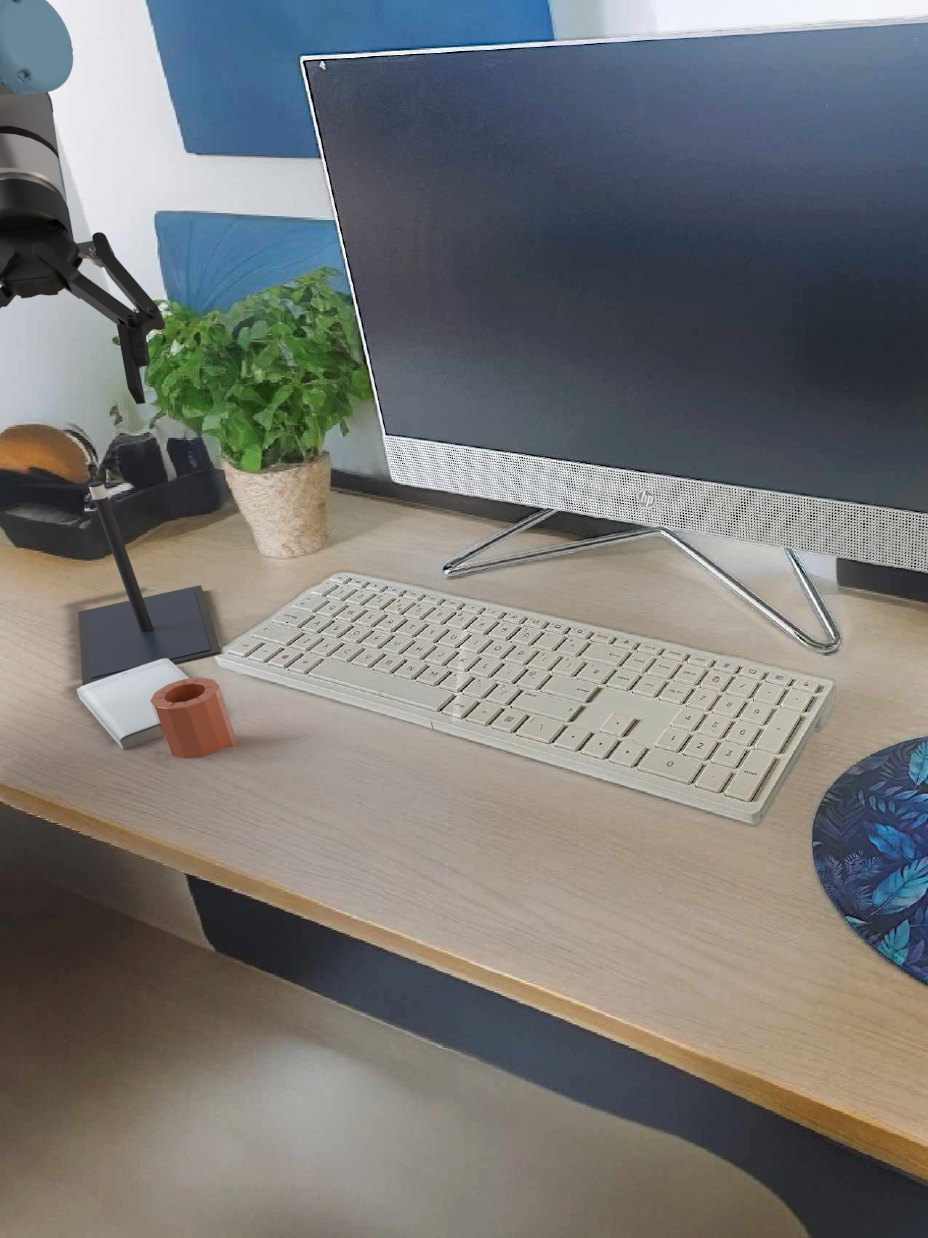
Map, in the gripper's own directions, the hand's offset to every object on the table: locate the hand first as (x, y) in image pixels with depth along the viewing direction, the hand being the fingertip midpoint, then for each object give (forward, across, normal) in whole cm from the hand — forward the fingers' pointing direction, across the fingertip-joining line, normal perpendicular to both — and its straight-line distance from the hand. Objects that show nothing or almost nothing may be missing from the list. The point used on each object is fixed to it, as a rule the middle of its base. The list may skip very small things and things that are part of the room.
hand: (54, 406), depth 106 cm
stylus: (+16, -1, -15) cm, 22 cm away
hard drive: (+28, -3, -4) cm, 29 cm away
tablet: (+17, -1, -16) cm, 23 cm away
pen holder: (+35, -8, +3) cm, 36 cm away
